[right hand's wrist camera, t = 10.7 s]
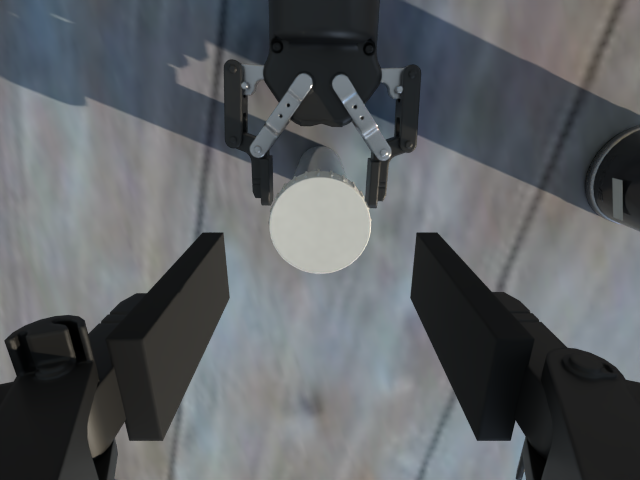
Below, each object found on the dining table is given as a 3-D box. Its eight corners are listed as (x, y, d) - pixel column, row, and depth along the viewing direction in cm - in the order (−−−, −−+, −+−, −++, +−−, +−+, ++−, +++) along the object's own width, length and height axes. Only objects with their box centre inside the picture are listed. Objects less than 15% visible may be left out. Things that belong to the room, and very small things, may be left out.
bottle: (310, 137, 34) (301, 168, 18) (349, 158, 35) (376, 207, 18) (290, 177, 36) (265, 241, 19) (329, 196, 36) (336, 275, 20)
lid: (298, 151, 19) (295, 155, 17) (386, 197, 20) (392, 206, 18) (256, 236, 20) (250, 248, 19) (339, 275, 21) (341, 290, 19)
